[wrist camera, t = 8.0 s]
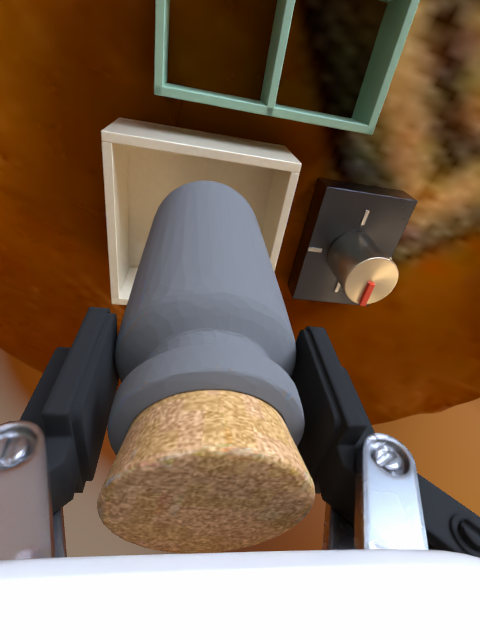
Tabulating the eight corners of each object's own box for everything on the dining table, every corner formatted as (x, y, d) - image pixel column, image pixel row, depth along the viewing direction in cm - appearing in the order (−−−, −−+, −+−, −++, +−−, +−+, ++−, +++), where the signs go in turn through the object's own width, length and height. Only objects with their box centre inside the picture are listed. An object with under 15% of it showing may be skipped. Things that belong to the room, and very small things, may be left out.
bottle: (219, 293, 22) (238, 575, 10) (134, 245, 20) (25, 542, 8) (279, 220, 19) (399, 483, 7) (188, 154, 17) (152, 389, 5)
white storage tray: (119, 116, 29) (100, 130, 24) (285, 145, 31) (302, 163, 26) (124, 269, 37) (111, 304, 32) (255, 282, 40) (262, 317, 34)
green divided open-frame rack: (163, -69, 23) (156, -89, 20) (397, -7, 26) (425, -16, 22) (159, 90, 28) (153, 94, 25) (354, 127, 31) (372, 135, 28)
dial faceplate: (318, 177, 33) (327, 187, 31) (403, 190, 35) (418, 201, 32) (287, 284, 40) (292, 299, 38) (359, 291, 42) (369, 306, 39)
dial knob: (336, 228, 33) (357, 256, 29) (381, 234, 34) (410, 262, 29) (320, 272, 36) (338, 303, 31) (363, 276, 37) (386, 308, 32)
